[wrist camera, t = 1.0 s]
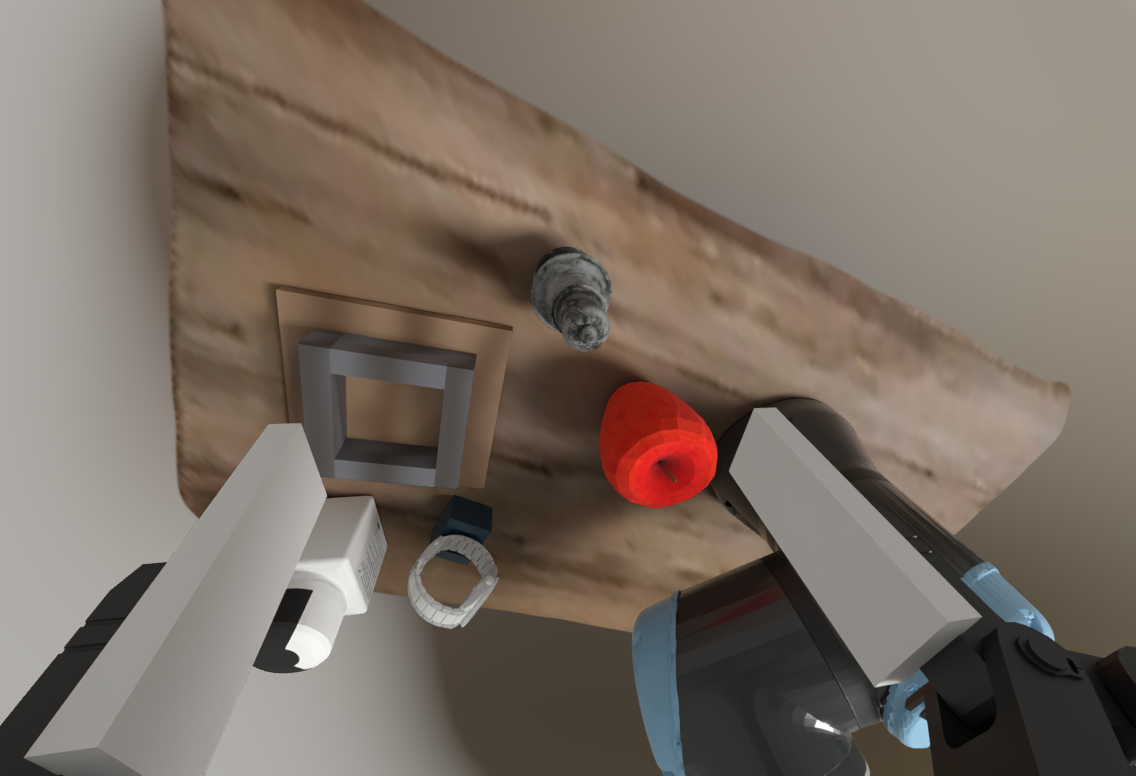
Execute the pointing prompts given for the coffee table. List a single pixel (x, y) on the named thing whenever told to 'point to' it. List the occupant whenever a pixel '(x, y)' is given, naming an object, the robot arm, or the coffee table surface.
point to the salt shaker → (573, 297)
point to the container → (326, 585)
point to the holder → (392, 388)
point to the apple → (655, 446)
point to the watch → (460, 543)
